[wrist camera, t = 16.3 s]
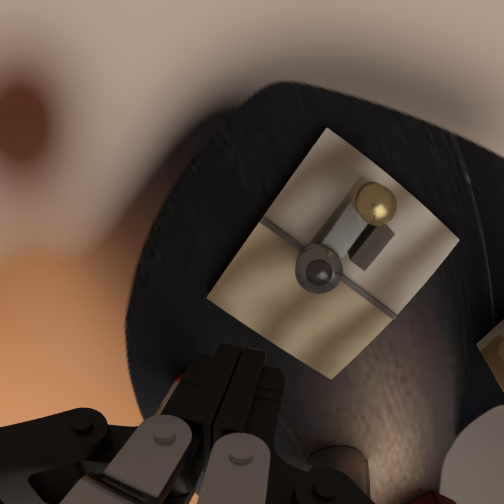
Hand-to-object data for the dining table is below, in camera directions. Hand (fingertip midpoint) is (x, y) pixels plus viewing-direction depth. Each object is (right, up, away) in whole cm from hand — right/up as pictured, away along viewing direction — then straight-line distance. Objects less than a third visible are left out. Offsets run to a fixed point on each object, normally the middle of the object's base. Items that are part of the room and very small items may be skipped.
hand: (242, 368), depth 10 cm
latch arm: (+9, +6, +20) cm, 23 cm away
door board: (+9, +2, +23) cm, 25 cm away
